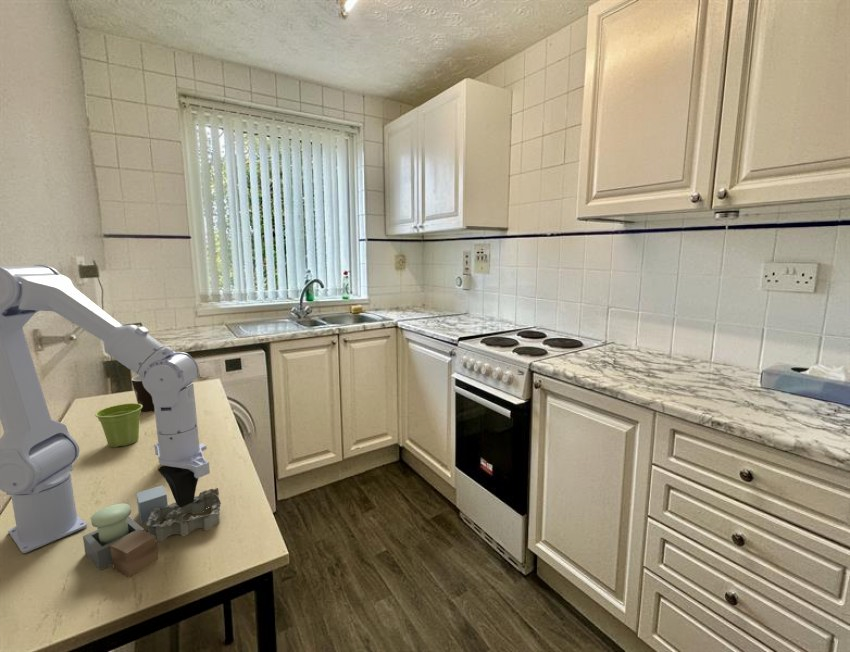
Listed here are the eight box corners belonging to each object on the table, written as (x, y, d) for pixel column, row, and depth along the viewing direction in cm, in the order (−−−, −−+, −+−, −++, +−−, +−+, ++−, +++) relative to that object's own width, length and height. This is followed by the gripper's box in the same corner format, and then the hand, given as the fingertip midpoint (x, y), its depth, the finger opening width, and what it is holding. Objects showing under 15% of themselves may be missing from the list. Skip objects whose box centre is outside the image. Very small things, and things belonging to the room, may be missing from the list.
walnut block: (113, 570, 59) (110, 545, 59) (141, 552, 63) (139, 528, 62) (130, 578, 58) (126, 553, 57) (158, 560, 61) (155, 536, 61)
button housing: (85, 553, 63) (82, 536, 62) (130, 532, 67) (128, 516, 67) (100, 570, 59) (97, 551, 59) (146, 546, 64) (144, 529, 64)
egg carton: (223, 506, 75) (221, 486, 75) (219, 531, 68) (217, 508, 68) (155, 519, 71) (153, 498, 71) (144, 546, 64) (141, 523, 64)
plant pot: (90, 448, 99) (85, 414, 97) (128, 432, 108) (124, 401, 106) (118, 453, 96) (113, 418, 95) (155, 437, 105) (151, 404, 103)
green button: (89, 541, 62) (86, 515, 62) (126, 524, 66) (123, 500, 66) (101, 553, 60) (97, 526, 59) (138, 535, 64) (135, 510, 63)
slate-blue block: (138, 513, 73) (136, 493, 72) (165, 505, 75) (162, 485, 75) (141, 524, 70) (139, 503, 69) (168, 515, 72) (166, 494, 72)
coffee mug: (141, 405, 128) (137, 374, 127) (172, 402, 131) (168, 372, 130) (126, 418, 118) (122, 385, 116) (160, 414, 120) (157, 382, 119)
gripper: (225, 429, 66) (231, 506, 68) (181, 411, 74) (188, 480, 76) (179, 445, 60) (187, 528, 63) (137, 424, 69) (146, 498, 71)
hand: (185, 503), depth 69 cm, fingers closed
